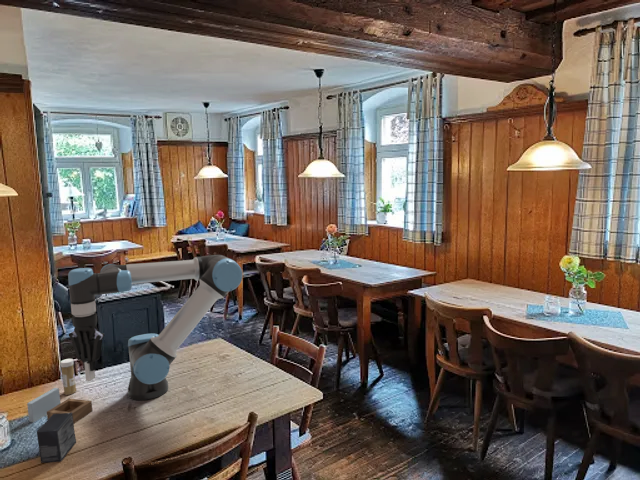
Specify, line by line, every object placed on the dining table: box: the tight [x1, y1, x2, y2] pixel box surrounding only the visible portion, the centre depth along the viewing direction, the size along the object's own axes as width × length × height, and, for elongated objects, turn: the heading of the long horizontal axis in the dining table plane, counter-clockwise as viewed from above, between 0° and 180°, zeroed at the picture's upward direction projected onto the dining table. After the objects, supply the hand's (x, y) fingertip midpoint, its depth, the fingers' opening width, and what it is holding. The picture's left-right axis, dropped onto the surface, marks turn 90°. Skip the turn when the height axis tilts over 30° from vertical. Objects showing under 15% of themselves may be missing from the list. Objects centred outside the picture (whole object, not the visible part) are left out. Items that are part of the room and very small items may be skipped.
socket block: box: [46, 398, 93, 425], centre depth 166 cm, size 10×10×4 cm
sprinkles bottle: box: [59, 358, 77, 396], centre depth 184 cm, size 5×5×14 cm
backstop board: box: [26, 387, 62, 423], centre depth 168 cm, size 2×12×7 cm, turn 165°
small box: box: [36, 413, 77, 464], centre depth 144 cm, size 11×6×10 cm, turn 5°
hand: (90, 379), depth 161 cm, fingers closed
